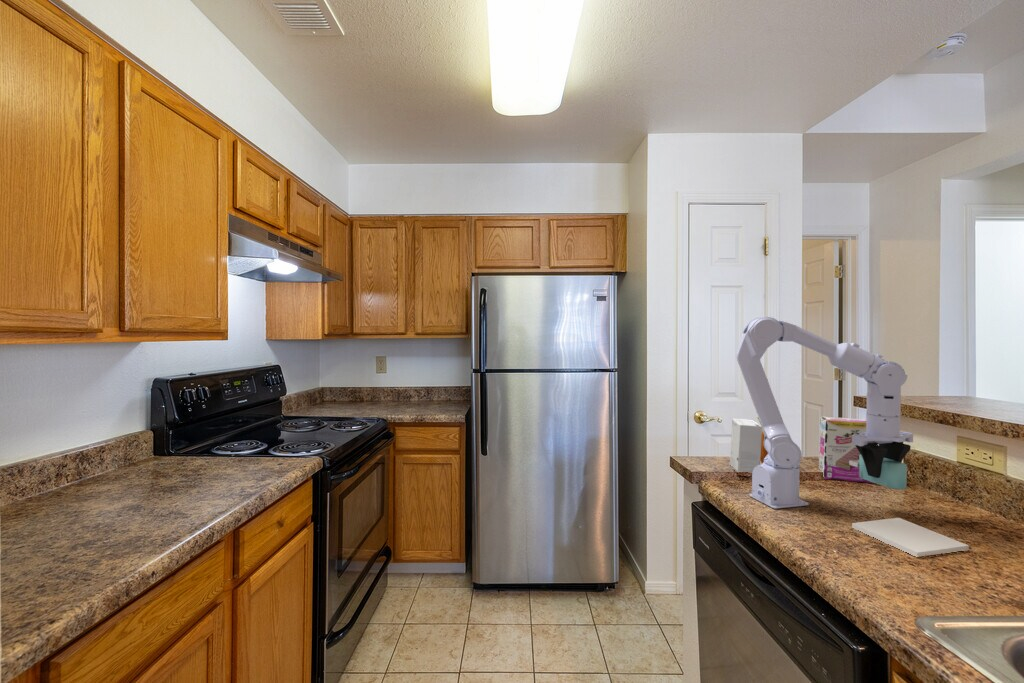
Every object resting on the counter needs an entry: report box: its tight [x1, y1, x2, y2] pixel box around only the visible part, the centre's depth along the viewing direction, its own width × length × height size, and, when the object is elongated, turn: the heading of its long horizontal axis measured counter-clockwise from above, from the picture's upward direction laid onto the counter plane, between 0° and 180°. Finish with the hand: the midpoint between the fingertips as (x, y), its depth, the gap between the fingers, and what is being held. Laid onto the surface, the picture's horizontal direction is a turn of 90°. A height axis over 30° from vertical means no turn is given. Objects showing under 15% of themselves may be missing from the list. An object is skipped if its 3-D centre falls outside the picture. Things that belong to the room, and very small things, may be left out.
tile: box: [851, 517, 970, 558], centre depth 85 cm, size 12×12×1 cm
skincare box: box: [729, 417, 762, 473], centre depth 123 cm, size 8×6×15 cm
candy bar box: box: [818, 416, 873, 484], centre depth 118 cm, size 11×5×16 cm, turn 71°
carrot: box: [756, 416, 768, 464], centre depth 129 cm, size 5×5×15 cm
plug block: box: [849, 454, 908, 491], centre depth 97 cm, size 4×11×5 cm, turn 12°
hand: (881, 475), depth 96 cm, fingers closed on plug block, 4 cm apart
